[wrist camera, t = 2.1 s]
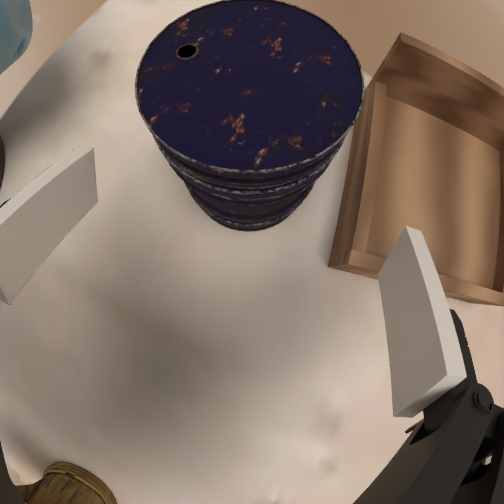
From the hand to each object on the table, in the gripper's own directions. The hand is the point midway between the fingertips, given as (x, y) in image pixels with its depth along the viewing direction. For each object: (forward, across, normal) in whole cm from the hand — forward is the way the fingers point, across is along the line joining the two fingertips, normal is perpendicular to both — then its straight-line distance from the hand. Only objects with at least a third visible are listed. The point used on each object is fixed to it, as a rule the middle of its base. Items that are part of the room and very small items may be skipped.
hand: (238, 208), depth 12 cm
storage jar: (+14, -1, -6) cm, 15 cm away
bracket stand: (+15, +15, -4) cm, 22 cm away
